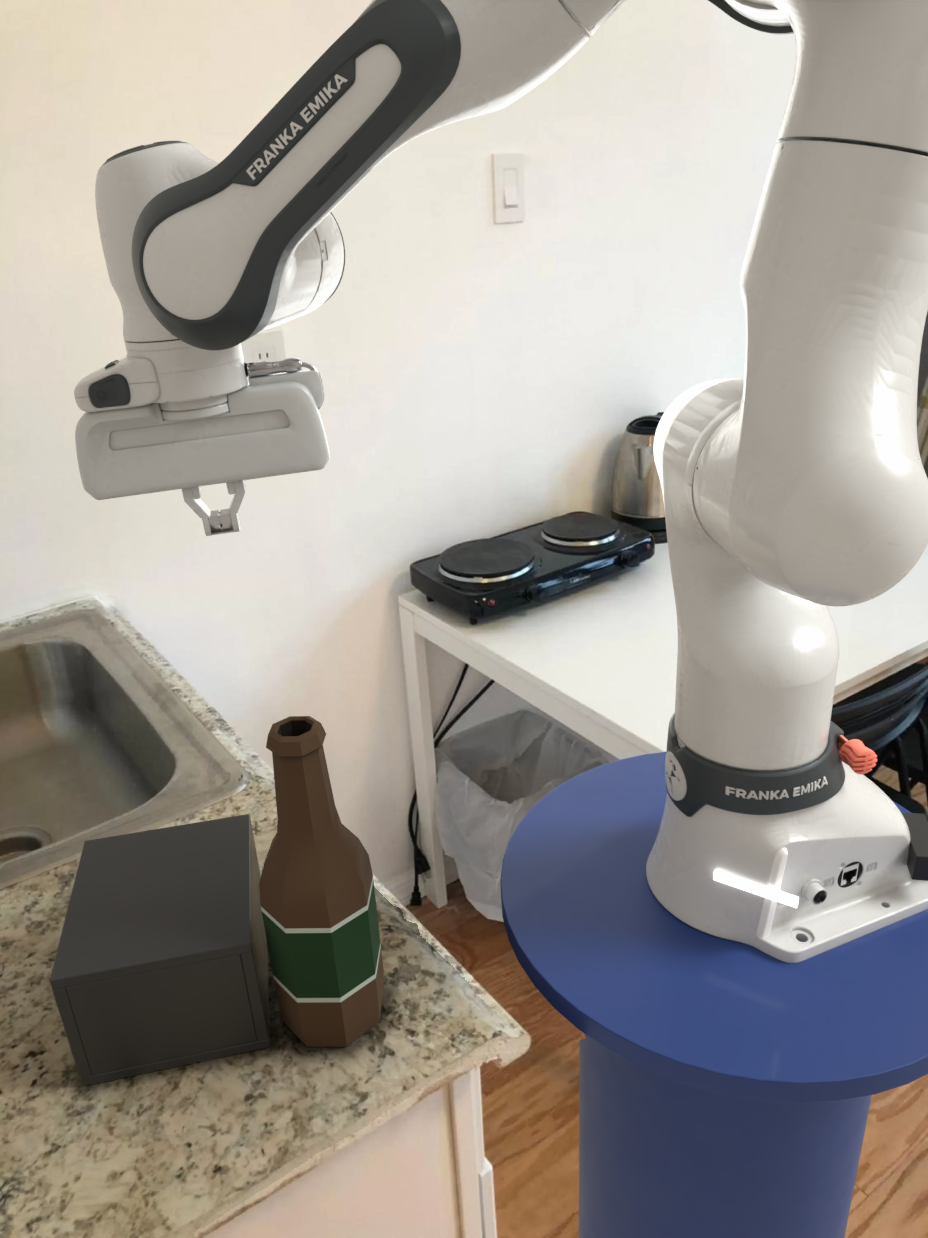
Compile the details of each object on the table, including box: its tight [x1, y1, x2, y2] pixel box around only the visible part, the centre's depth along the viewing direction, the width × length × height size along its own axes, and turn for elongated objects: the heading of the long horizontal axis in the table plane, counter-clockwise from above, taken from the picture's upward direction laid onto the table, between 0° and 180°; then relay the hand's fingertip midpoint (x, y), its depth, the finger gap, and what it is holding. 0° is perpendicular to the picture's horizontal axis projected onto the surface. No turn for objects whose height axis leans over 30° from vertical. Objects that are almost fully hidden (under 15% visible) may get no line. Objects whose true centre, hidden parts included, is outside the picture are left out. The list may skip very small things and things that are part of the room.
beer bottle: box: [259, 715, 385, 1048], centre depth 63 cm, size 8×8×24 cm
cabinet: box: [49, 813, 271, 1087], centre depth 69 cm, size 15×13×10 cm
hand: (223, 532), depth 81 cm, fingers closed
